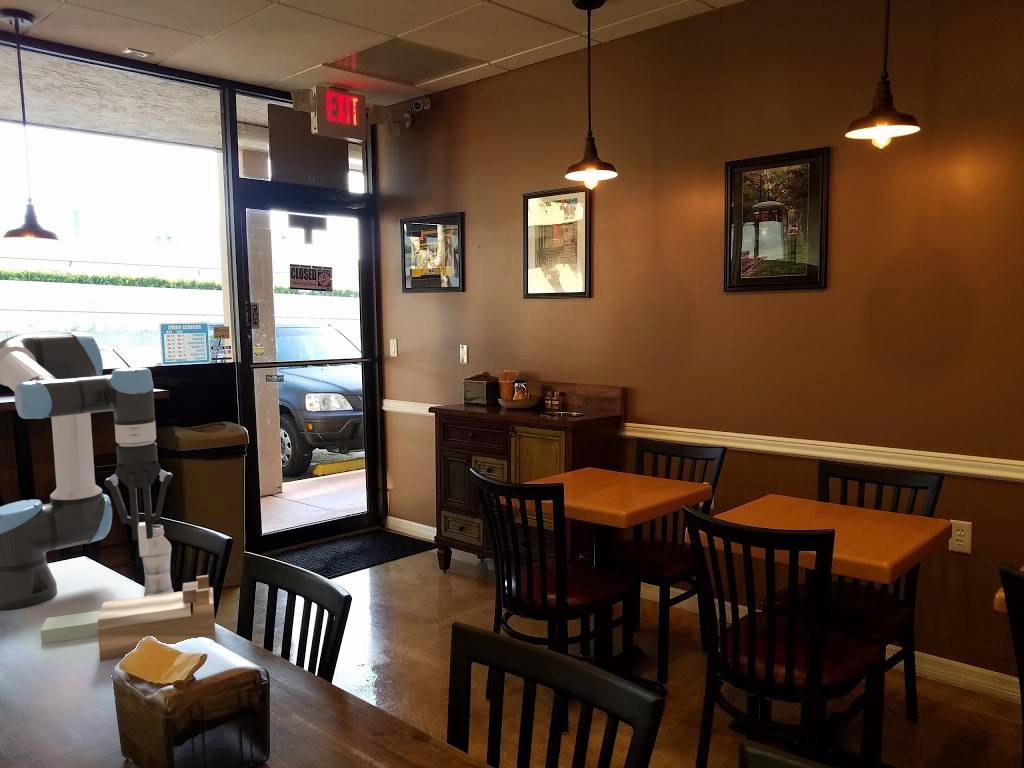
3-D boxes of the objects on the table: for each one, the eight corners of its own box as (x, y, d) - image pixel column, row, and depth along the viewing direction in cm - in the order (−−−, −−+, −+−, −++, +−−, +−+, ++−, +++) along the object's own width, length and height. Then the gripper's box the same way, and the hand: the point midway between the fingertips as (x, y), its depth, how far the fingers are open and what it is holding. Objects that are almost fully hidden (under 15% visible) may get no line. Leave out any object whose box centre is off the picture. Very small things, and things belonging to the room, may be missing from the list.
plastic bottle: (140, 609, 184) (134, 527, 182) (169, 601, 189) (164, 521, 186) (148, 617, 179) (143, 533, 177) (179, 609, 184) (174, 527, 182)
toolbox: (104, 642, 166) (101, 588, 165) (214, 625, 175) (211, 574, 173) (99, 662, 157) (95, 605, 156) (215, 644, 165) (212, 589, 164)
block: (183, 593, 169) (183, 583, 169) (198, 591, 170) (198, 581, 170) (183, 602, 164) (182, 591, 164) (198, 600, 165) (197, 589, 165)
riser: (47, 631, 173) (46, 618, 172) (113, 621, 177) (112, 608, 177) (41, 644, 166) (40, 630, 166) (109, 633, 171) (108, 620, 170)
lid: (104, 611, 166) (103, 601, 166) (191, 598, 172) (190, 590, 172) (98, 629, 157) (97, 620, 156) (190, 615, 163) (190, 606, 163)
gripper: (98, 448, 154) (107, 564, 157) (170, 443, 159) (177, 555, 162) (103, 442, 161) (111, 553, 164) (171, 437, 166) (178, 544, 169)
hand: (144, 554), depth 163 cm, fingers closed
